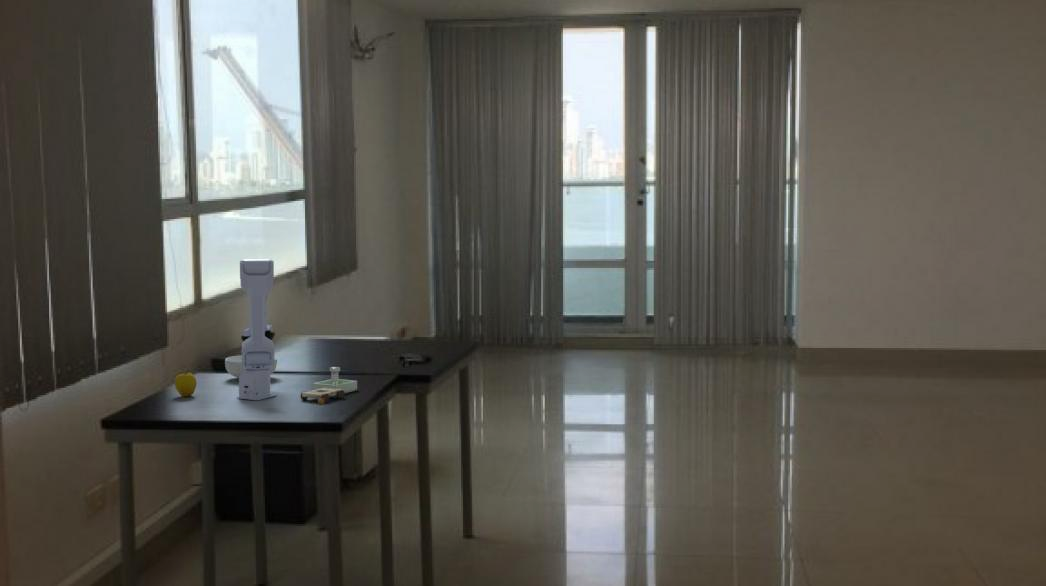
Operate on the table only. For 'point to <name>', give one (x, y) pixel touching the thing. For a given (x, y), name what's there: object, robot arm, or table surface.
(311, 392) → the toy car
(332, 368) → the stop pin
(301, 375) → the table surface
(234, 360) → the cereal bowl
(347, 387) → the tray
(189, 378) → the apple
